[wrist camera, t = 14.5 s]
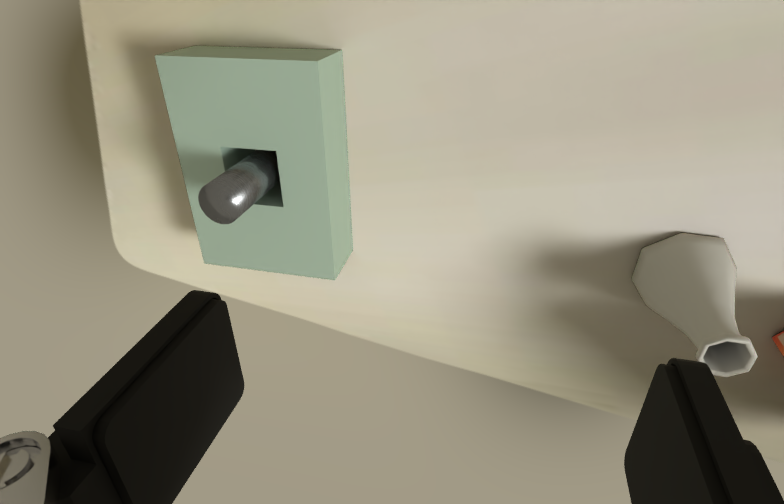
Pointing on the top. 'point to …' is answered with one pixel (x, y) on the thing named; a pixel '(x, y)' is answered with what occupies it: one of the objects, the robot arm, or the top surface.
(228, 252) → the green block with hole
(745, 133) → the top surface
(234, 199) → the peg
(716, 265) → the flask
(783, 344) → the cracker box
